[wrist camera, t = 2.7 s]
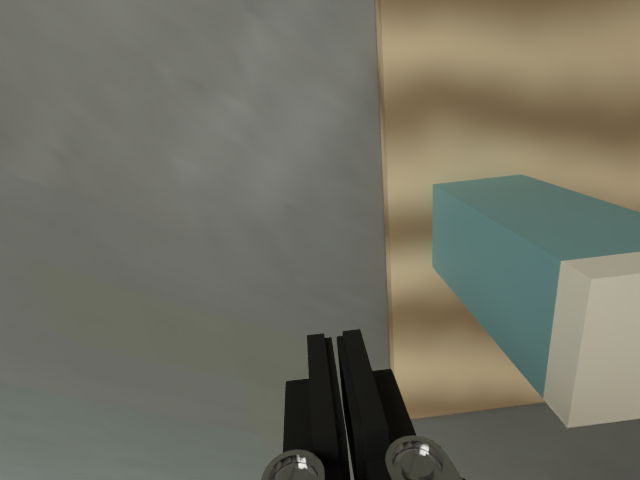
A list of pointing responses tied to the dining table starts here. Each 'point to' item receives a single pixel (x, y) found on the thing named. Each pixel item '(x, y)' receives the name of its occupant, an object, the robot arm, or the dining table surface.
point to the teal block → (549, 287)
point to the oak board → (491, 156)
